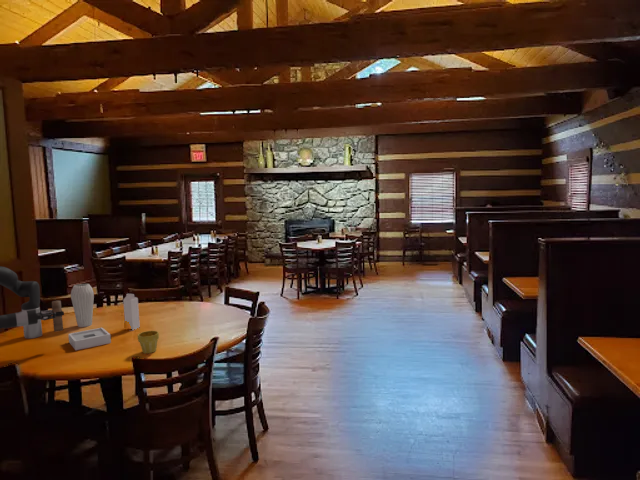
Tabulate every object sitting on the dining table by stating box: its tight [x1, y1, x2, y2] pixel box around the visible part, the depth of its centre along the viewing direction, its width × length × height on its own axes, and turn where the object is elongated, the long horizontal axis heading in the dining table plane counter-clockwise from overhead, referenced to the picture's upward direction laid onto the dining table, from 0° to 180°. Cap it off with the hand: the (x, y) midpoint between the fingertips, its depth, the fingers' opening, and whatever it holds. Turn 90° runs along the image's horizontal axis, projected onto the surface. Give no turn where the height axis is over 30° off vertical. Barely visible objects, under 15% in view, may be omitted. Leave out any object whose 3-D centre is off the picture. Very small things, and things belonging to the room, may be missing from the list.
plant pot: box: [137, 330, 160, 354], centre depth 249 cm, size 10×10×10 cm
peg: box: [51, 300, 64, 332], centre depth 256 cm, size 4×4×16 cm
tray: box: [67, 327, 112, 351], centre depth 267 cm, size 18×18×5 cm
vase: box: [70, 283, 95, 328], centre depth 301 cm, size 13×13×26 cm
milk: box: [122, 293, 141, 331], centre depth 291 cm, size 6×6×22 cm
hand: (62, 312), depth 257 cm, fingers closed on peg, 4 cm apart
